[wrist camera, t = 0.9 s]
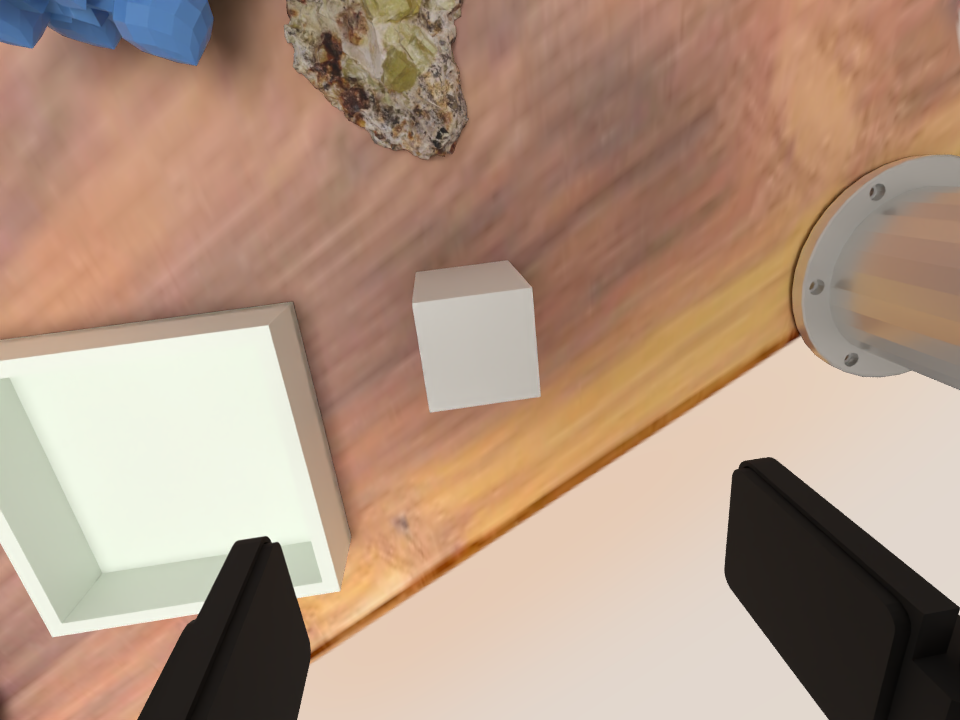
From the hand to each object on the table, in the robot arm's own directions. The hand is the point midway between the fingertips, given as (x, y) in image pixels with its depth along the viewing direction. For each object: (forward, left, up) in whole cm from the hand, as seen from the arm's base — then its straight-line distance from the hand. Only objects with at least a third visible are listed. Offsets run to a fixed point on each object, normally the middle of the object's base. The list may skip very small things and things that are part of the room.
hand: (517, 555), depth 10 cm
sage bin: (+17, +6, -19) cm, 26 cm away
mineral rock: (+2, -13, -20) cm, 24 cm away
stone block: (0, 0, -19) cm, 19 cm away
